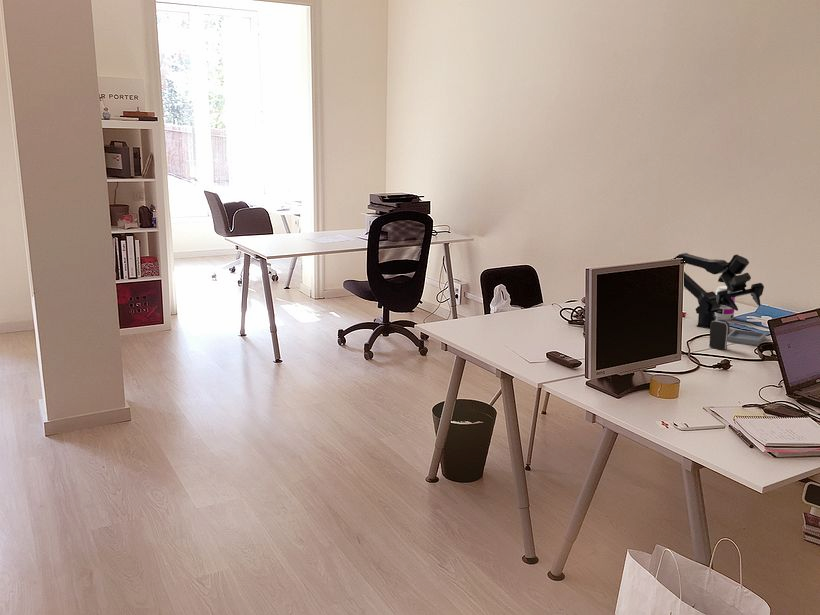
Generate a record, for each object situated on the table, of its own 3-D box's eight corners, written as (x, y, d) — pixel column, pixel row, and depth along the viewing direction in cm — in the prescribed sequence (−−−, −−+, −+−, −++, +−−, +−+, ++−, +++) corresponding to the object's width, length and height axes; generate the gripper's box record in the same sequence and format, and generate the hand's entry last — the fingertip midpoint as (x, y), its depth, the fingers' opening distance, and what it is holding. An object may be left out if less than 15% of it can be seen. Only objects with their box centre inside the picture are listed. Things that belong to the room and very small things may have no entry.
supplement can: (734, 317, 325) (737, 286, 321) (732, 321, 318) (734, 289, 315) (716, 315, 329) (718, 284, 326) (713, 319, 323) (715, 288, 319)
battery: (729, 348, 280) (731, 321, 278) (724, 350, 278) (726, 323, 275) (713, 345, 286) (715, 318, 283) (708, 347, 284) (710, 320, 281)
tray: (725, 341, 290) (726, 336, 290) (734, 334, 299) (734, 329, 299) (758, 345, 282) (758, 340, 282) (765, 338, 292) (765, 333, 291)
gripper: (712, 273, 292) (728, 299, 281) (757, 263, 290) (775, 289, 279) (709, 291, 299) (725, 317, 289) (752, 282, 298) (770, 307, 287)
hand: (748, 307), depth 286 cm, fingers open, 9 cm apart
